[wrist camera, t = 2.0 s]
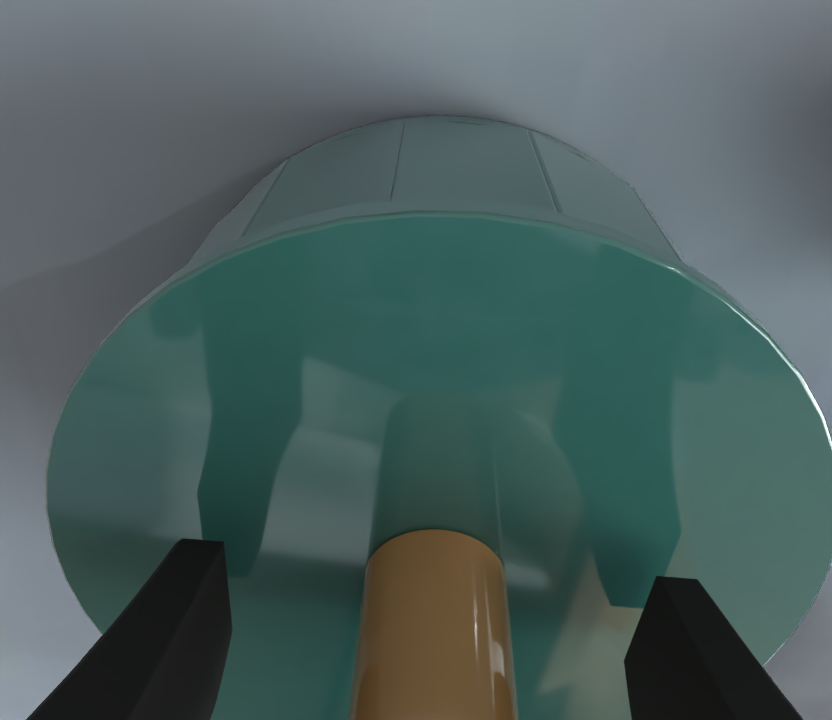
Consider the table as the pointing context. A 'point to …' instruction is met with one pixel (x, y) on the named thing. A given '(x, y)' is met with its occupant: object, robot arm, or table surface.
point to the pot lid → (443, 460)
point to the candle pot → (441, 177)
